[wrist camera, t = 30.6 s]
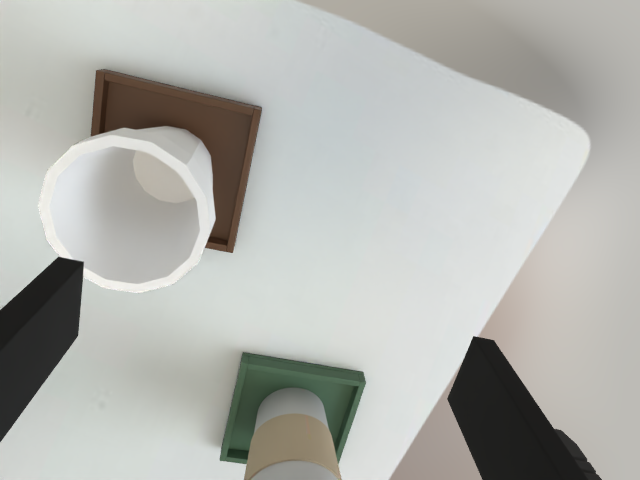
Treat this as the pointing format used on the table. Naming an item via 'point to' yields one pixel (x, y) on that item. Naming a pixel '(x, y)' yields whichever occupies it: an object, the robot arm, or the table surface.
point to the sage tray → (274, 374)
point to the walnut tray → (199, 119)
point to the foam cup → (131, 206)
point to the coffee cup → (292, 439)
